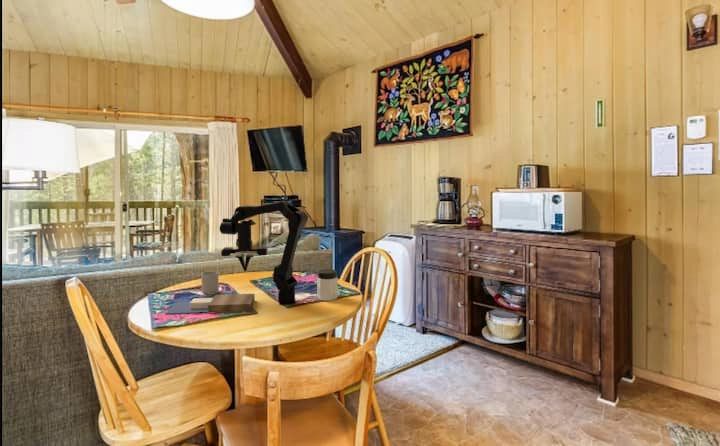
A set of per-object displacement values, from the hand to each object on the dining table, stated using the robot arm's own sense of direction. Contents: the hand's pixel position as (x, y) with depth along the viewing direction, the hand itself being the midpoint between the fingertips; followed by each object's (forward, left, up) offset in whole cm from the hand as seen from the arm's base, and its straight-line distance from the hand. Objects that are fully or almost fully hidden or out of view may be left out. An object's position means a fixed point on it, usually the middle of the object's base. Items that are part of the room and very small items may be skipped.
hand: (245, 270), depth 183 cm
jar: (-35, +4, -12) cm, 37 cm away
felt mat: (+20, +11, -12) cm, 26 cm away
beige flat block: (+16, +11, -12) cm, 22 cm away
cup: (+18, -12, -12) cm, 25 cm away
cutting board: (+4, +11, -12) cm, 17 cm away
